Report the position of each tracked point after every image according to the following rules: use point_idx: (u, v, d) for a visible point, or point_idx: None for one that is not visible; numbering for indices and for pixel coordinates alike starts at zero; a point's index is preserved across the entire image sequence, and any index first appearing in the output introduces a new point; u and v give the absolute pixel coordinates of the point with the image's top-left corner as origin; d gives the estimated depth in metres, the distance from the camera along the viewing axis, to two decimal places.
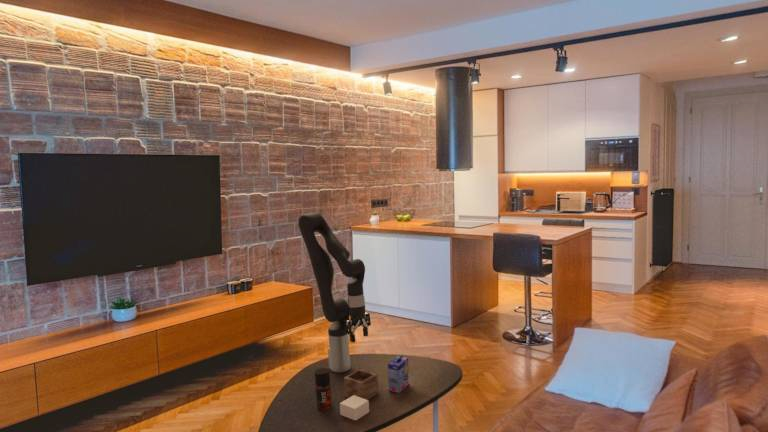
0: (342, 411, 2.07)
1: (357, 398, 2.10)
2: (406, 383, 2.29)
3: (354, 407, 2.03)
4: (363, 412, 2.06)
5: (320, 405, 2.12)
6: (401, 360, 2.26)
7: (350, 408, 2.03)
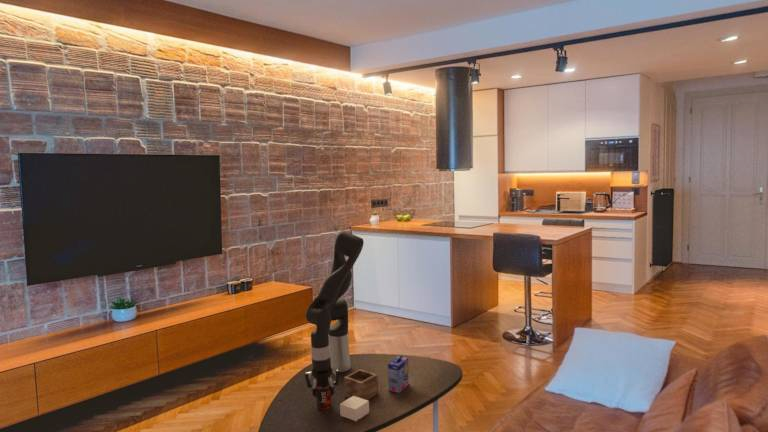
0: (342, 412, 2.06)
1: (357, 398, 2.10)
2: (406, 383, 2.29)
3: (354, 408, 2.02)
4: (364, 413, 2.06)
5: (320, 405, 2.12)
6: (401, 360, 2.26)
7: (350, 409, 2.03)
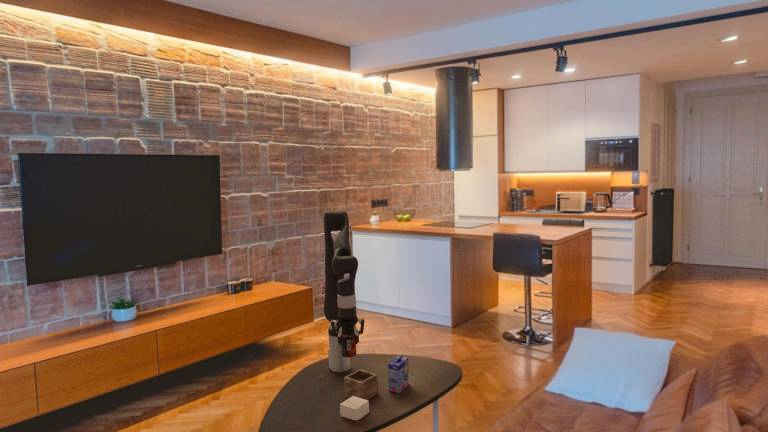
0: (342, 412, 2.06)
1: (357, 398, 2.10)
2: (406, 383, 2.29)
3: (355, 408, 2.02)
4: (364, 413, 2.06)
5: (345, 353, 2.16)
6: (401, 360, 2.26)
7: (351, 409, 2.03)
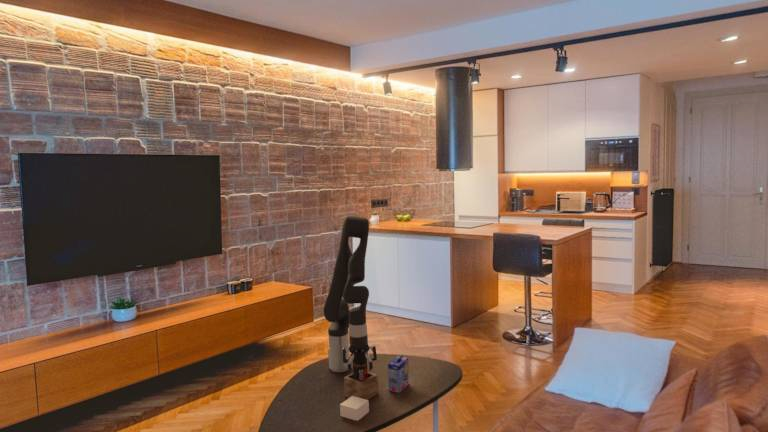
0: (342, 413, 2.06)
1: (357, 398, 2.10)
2: (406, 383, 2.29)
3: (356, 408, 2.02)
4: (364, 412, 2.06)
5: None
6: (401, 360, 2.26)
7: (351, 409, 2.03)
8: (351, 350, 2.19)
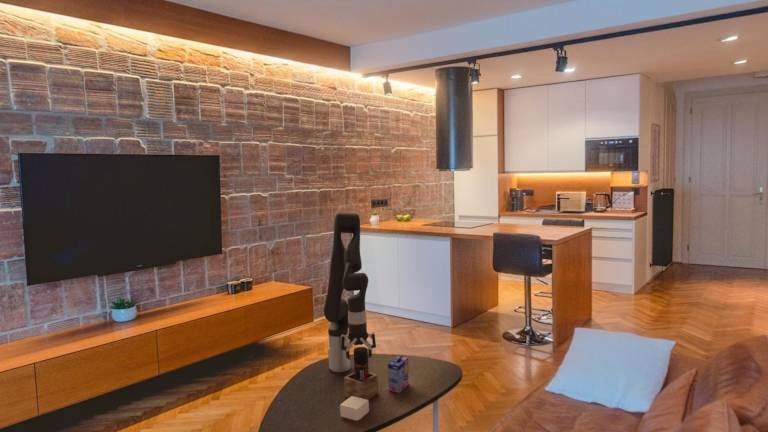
0: (342, 413, 2.05)
1: (356, 398, 2.10)
2: (406, 383, 2.29)
3: (356, 407, 2.02)
4: (364, 412, 2.06)
5: None
6: (401, 360, 2.26)
7: (352, 409, 2.03)
8: (350, 337, 2.18)
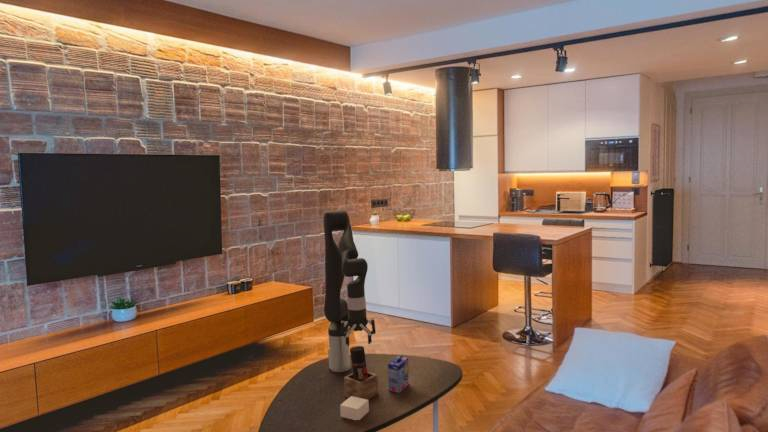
0: (342, 413, 2.05)
1: (356, 398, 2.10)
2: (406, 383, 2.29)
3: (356, 407, 2.02)
4: (364, 412, 2.06)
5: None
6: (401, 360, 2.26)
7: (352, 409, 2.03)
8: (349, 323, 2.17)
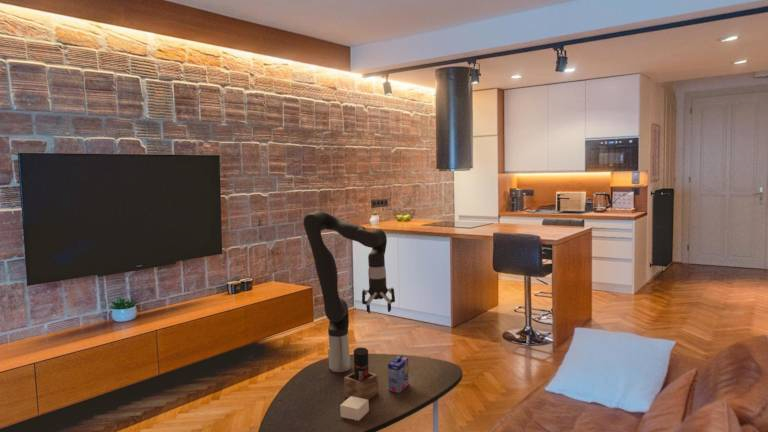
0: (342, 413, 2.05)
1: (356, 398, 2.10)
2: (406, 383, 2.29)
3: (357, 407, 2.03)
4: (364, 412, 2.06)
5: None
6: (401, 360, 2.26)
7: (352, 409, 2.03)
8: (370, 292, 2.28)
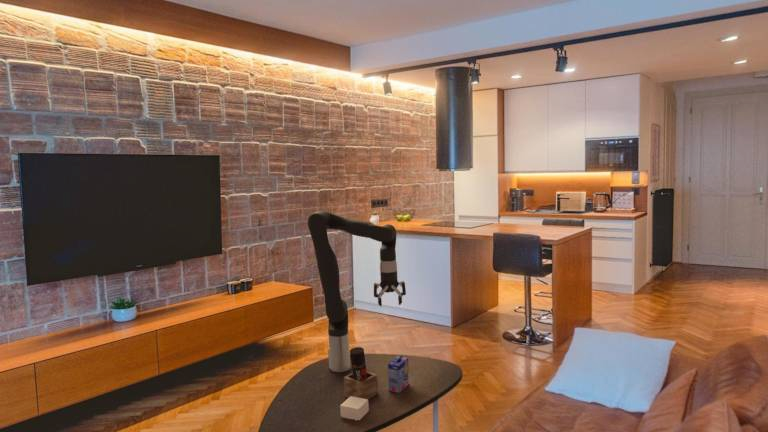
0: (343, 413, 2.05)
1: (356, 398, 2.10)
2: (406, 383, 2.29)
3: (357, 407, 2.03)
4: (364, 412, 2.06)
5: None
6: (401, 360, 2.26)
7: (353, 409, 2.03)
8: (382, 285, 2.35)
